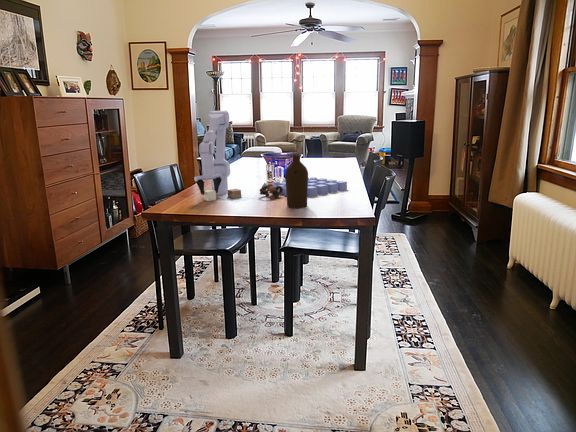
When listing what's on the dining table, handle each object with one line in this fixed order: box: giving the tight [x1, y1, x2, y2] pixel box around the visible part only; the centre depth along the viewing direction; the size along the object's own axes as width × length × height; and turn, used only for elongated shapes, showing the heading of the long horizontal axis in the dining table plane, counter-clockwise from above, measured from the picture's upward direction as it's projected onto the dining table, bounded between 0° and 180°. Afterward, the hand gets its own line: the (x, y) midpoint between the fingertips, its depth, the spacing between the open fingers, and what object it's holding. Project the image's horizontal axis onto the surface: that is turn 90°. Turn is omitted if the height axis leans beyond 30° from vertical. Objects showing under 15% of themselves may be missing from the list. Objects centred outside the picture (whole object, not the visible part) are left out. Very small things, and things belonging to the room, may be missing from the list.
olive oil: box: [284, 152, 309, 209], centre depth 207 cm, size 11×11×25 cm
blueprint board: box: [216, 194, 254, 203], centre depth 231 cm, size 18×12×1 cm, turn 37°
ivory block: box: [203, 189, 217, 202], centre depth 227 cm, size 4×4×5 cm
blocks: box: [261, 176, 348, 198], centre depth 249 cm, size 35×34×5 cm
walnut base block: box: [227, 188, 242, 199], centre depth 231 cm, size 5×5×4 cm
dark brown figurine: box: [259, 183, 283, 200], centre depth 230 cm, size 12×10×8 cm
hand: (209, 193), depth 227 cm, fingers open, 7 cm apart
